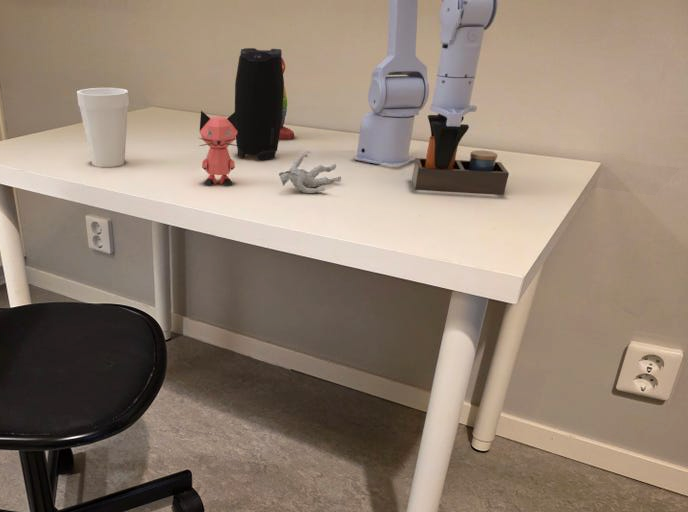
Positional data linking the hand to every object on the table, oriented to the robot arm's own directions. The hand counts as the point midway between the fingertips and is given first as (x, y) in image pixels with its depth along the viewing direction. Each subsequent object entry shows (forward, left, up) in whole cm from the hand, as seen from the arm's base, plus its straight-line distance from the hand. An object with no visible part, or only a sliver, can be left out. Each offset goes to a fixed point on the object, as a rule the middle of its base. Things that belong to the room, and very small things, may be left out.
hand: (439, 163), depth 107 cm
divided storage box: (+3, +2, -4) cm, 5 cm away
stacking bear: (-47, +14, -4) cm, 49 cm away
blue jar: (+6, +3, -4) cm, 8 cm away
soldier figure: (-16, -14, -4) cm, 22 cm away
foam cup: (-55, -26, -4) cm, 61 cm away
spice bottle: (0, 0, -3) cm, 3 cm away
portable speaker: (-37, -2, -4) cm, 37 cm away
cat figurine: (-30, -22, -4) cm, 38 cm away
